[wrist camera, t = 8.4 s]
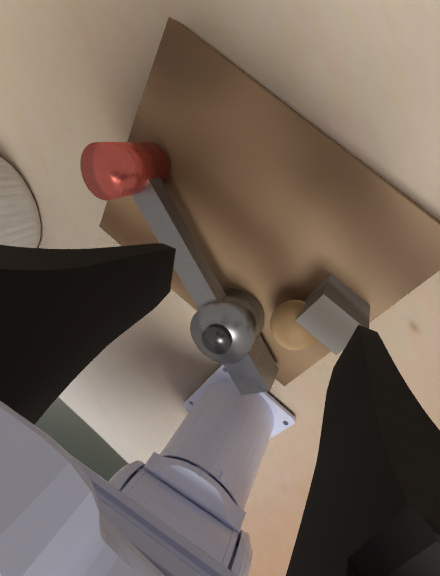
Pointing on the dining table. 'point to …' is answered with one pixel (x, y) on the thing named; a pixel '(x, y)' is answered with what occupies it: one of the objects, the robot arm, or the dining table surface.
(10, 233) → the ramekin
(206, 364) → the dining table surface
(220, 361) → the lever
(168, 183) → the board
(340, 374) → the robot arm
